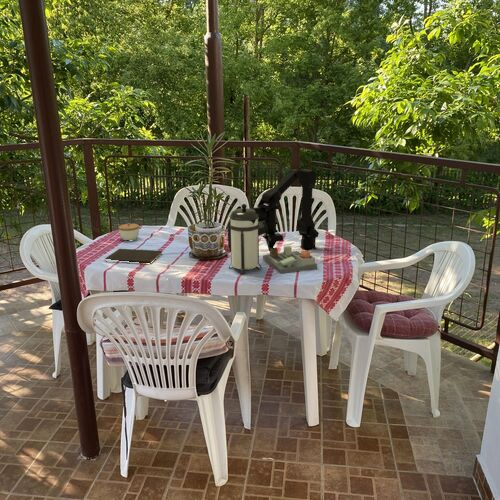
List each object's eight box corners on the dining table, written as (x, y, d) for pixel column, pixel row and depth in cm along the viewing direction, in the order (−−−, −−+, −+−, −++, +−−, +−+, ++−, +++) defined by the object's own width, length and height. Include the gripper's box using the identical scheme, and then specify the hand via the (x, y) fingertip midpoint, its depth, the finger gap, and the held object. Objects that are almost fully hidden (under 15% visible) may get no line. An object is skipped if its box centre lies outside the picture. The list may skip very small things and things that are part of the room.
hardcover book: (119, 253, 261) (119, 248, 260) (162, 255, 257) (162, 250, 256) (105, 263, 246) (104, 258, 246) (150, 265, 242) (150, 261, 241)
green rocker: (292, 258, 233) (291, 256, 232) (295, 260, 230) (295, 258, 229) (280, 263, 231) (279, 261, 231) (283, 265, 228) (282, 263, 228)
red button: (307, 257, 236) (307, 250, 235) (311, 260, 233) (311, 252, 232) (299, 258, 235) (299, 251, 234) (303, 261, 231) (303, 253, 230)
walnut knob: (275, 255, 245) (275, 247, 244) (277, 257, 243) (277, 248, 242) (270, 256, 244) (270, 248, 243) (271, 257, 242) (271, 249, 241)
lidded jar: (137, 242, 276) (136, 225, 274) (117, 242, 277) (116, 225, 274) (141, 237, 287) (140, 220, 284) (122, 237, 287) (121, 220, 284)
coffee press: (265, 263, 240) (264, 200, 231) (257, 275, 225) (257, 208, 216) (229, 261, 244) (227, 199, 235) (219, 273, 229) (217, 206, 220)
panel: (297, 255, 252) (297, 245, 250) (317, 268, 233) (317, 257, 232) (262, 259, 246) (262, 249, 245) (280, 273, 227) (280, 262, 226)
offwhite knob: (289, 253, 247) (289, 245, 246) (291, 255, 245) (291, 247, 244) (283, 254, 246) (283, 246, 245) (285, 256, 244) (285, 247, 243)
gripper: (247, 216, 248) (247, 247, 253) (260, 225, 231) (261, 258, 236) (269, 214, 252) (269, 245, 256) (283, 223, 235) (283, 255, 240)
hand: (270, 251), depth 247 cm, fingers closed
